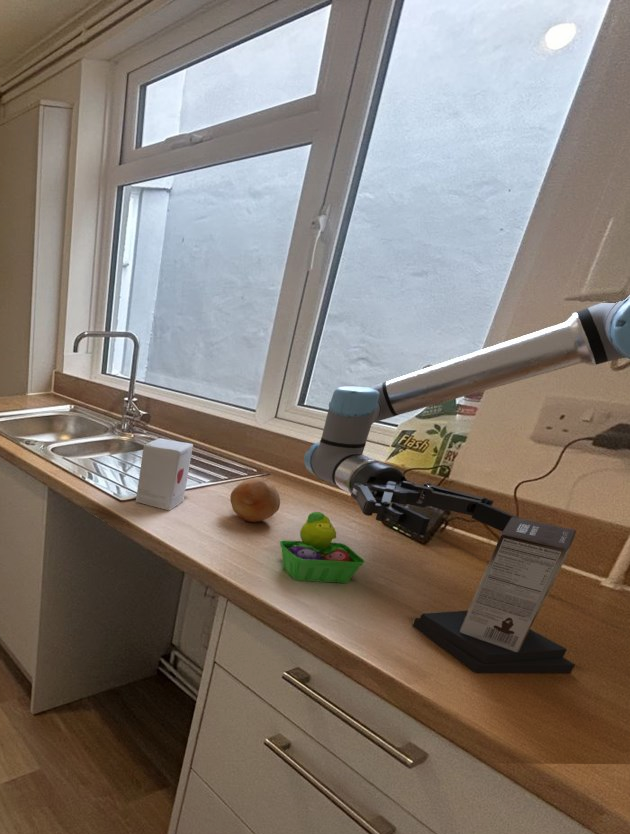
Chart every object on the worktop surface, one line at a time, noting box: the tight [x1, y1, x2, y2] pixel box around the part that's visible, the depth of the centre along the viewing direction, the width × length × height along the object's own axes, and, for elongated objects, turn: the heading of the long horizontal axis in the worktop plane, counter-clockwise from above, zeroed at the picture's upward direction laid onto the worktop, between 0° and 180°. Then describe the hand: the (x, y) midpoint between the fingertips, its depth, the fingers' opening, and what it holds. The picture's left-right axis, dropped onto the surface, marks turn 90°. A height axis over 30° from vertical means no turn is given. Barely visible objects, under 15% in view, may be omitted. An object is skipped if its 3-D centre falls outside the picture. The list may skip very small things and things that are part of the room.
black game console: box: [412, 610, 576, 674], centre depth 77 cm, size 13×11×3 cm
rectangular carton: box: [135, 437, 194, 512], centre depth 129 cm, size 9×9×15 cm
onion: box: [229, 476, 281, 523], centre depth 119 cm, size 10×10×10 cm
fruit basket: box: [279, 511, 366, 584], centre depth 96 cm, size 11×9×11 cm
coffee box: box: [460, 517, 577, 652], centre depth 73 cm, size 9×6×16 cm
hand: (470, 527), depth 80 cm, fingers open, 13 cm apart
